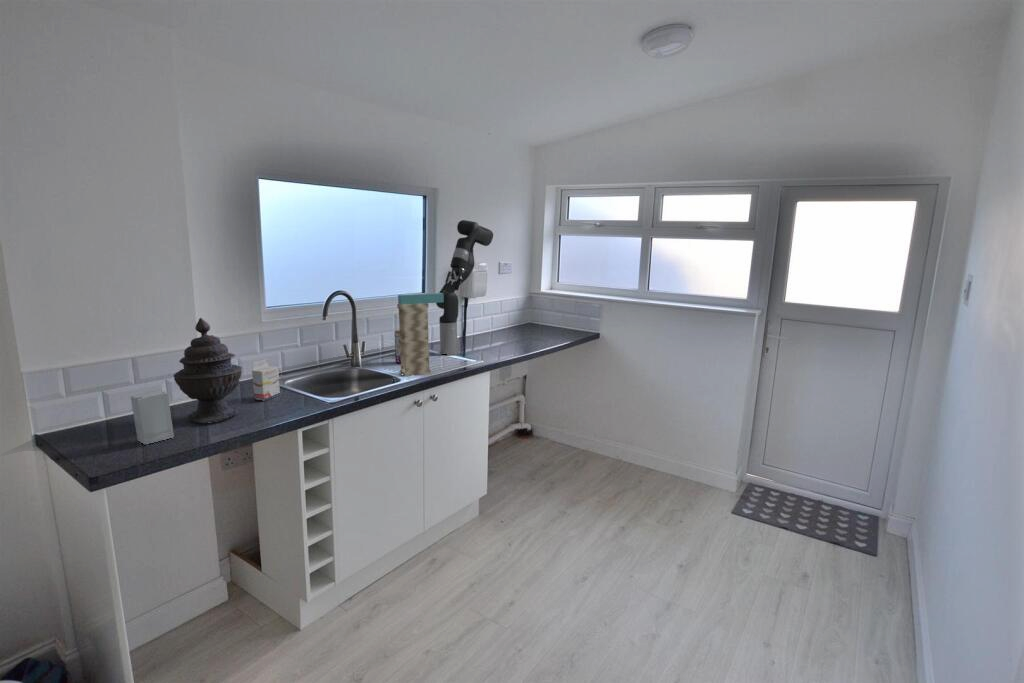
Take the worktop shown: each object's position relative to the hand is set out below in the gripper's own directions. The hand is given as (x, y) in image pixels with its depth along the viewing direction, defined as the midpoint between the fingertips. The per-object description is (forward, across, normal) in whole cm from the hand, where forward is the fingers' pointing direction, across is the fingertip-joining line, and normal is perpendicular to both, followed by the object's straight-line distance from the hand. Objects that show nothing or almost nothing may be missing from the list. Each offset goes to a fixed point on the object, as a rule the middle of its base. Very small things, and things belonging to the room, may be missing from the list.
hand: (451, 290), depth 258 cm
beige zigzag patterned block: (+43, -2, +8) cm, 44 cm away
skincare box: (+87, -36, +98) cm, 136 cm away
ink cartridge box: (+68, -6, +66) cm, 95 cm away
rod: (+12, -7, +16) cm, 22 cm away
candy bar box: (+37, +21, +3) cm, 43 cm away
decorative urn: (+78, -20, +83) cm, 116 cm away
